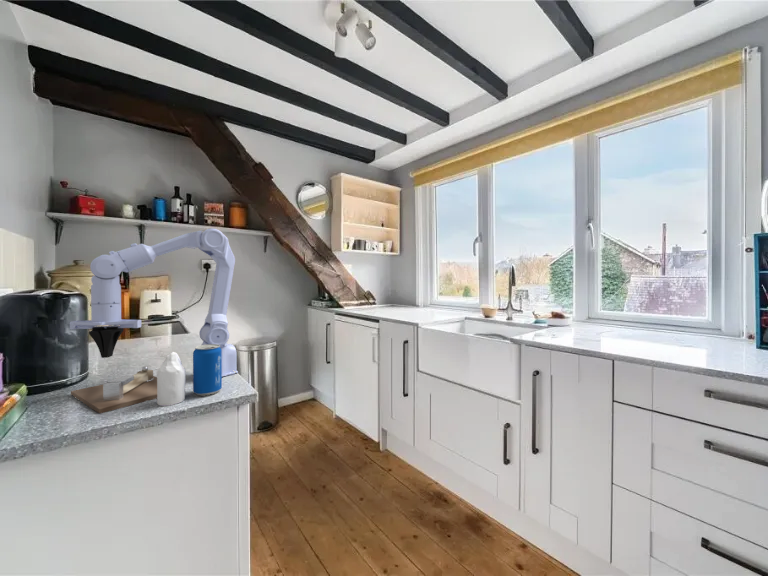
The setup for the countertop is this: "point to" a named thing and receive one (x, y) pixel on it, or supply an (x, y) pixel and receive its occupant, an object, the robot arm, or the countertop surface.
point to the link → (138, 380)
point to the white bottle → (171, 381)
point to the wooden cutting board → (133, 396)
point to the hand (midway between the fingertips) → (107, 356)
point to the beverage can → (207, 369)
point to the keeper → (118, 386)
